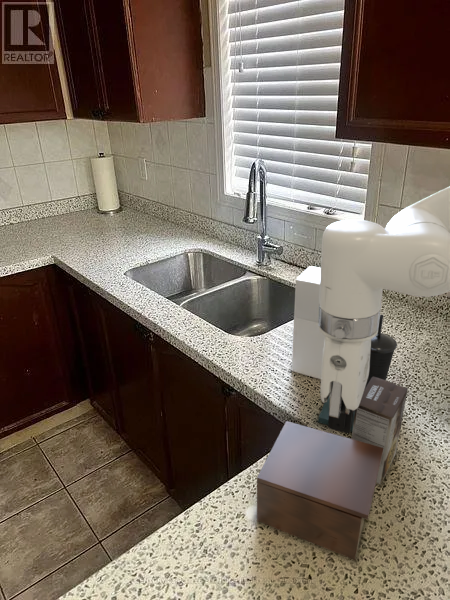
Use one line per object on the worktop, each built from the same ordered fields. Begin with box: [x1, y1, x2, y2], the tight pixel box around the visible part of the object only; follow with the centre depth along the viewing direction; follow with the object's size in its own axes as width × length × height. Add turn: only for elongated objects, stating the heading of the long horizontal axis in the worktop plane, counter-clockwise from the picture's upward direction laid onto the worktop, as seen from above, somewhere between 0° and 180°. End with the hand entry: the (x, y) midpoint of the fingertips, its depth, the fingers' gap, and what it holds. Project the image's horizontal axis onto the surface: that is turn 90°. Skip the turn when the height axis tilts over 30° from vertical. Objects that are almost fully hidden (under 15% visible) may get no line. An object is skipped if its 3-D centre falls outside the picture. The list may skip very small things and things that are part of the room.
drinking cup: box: [364, 314, 398, 390], centre depth 96 cm, size 8×8×20 cm
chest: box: [256, 481, 366, 561], centre depth 72 cm, size 16×14×10 cm
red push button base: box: [317, 397, 355, 433], centre depth 93 cm, size 10×9×4 cm
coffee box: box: [351, 377, 409, 485], centre depth 79 cm, size 9×6×16 cm
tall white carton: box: [291, 265, 325, 380], centre depth 104 cm, size 9×9×25 cm
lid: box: [256, 420, 384, 520], centre depth 70 cm, size 16×14×1 cm
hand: (339, 427), depth 65 cm, fingers closed
